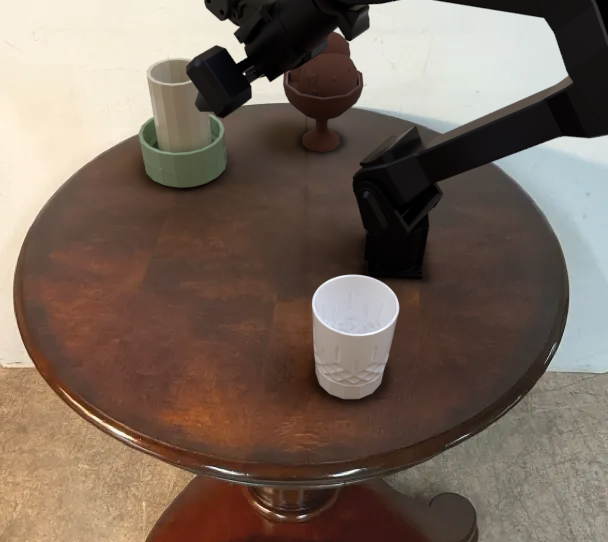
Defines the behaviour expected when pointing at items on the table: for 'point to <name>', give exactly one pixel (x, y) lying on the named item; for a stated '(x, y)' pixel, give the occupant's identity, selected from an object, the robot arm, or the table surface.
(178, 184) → the sage bowl
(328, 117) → the ice cream bowl
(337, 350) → the white cup
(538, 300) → the table surface
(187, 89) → the cream cup
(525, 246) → the table surface
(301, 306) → the table surface
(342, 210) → the table surface
